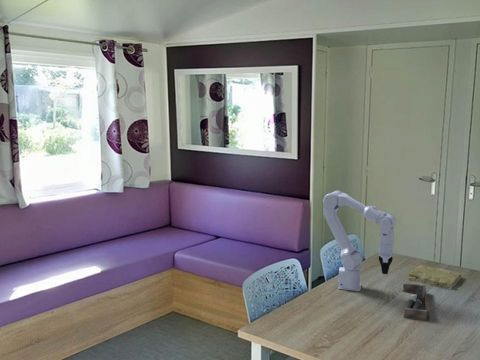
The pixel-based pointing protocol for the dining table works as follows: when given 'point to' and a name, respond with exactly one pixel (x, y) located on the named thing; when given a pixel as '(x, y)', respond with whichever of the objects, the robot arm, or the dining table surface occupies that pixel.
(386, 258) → the robot arm
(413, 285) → the box
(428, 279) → the decorative tile
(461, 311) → the dining table surface
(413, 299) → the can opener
